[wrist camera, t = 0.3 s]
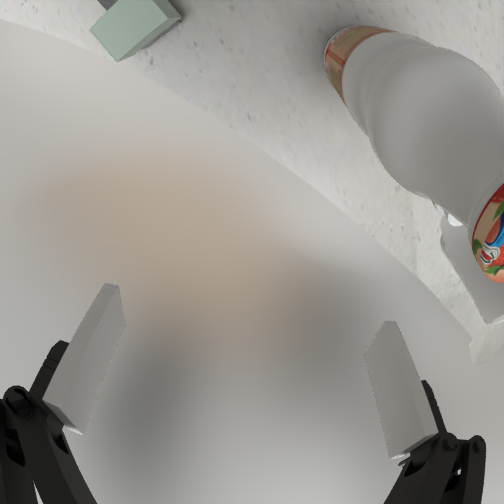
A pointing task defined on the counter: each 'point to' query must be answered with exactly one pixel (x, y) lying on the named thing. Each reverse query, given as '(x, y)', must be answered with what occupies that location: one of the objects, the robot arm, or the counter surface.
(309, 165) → the counter surface
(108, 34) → the mounted modules
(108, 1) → the rail
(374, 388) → the robot arm
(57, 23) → the counter surface
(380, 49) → the fruit juice
